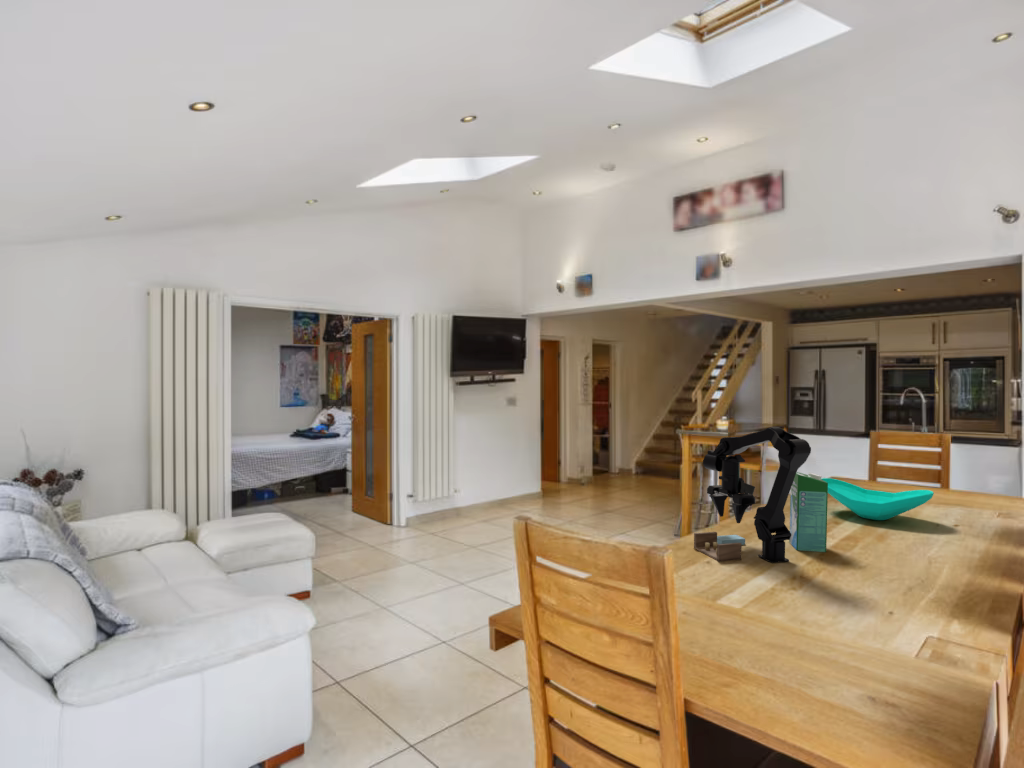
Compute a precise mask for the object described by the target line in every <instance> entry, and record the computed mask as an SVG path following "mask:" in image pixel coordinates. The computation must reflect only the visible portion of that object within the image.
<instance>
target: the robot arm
mask: <svg viewBox="0 0 1024 768" xmlns="http://www.w3.org/2000/svg"><path fill="white" fill-rule="evenodd" d="M766 443H771V445H772V447H773V448H774V449H775V450H777V451H778V453H777V454H778V455H777V456H778V461H779V466H778V470H777V473H776V476H775V479H774V481H773V482H774V483H773V485H772V488H771V490H770V493H769V496H768V498H767V499H768V500H767V502H766V504H765V505H764V506H758V507H757V508H756V512H755V515H754V517H753V519H754V521H753V522H754V523H753V524H754V527H755V530H756V531H755V532H756V535H757V539H758V540H760V541H761V542H762V543H761V554H758V555H757V556H758V558H760V559H763V560H765V561H768V562H770V563H771V564H773V563H774V564H776V563H785V562H790V559H789V558H786V541H789V540H790V537H791V533H790V529H789V528H788V527H787V526H786V524H785V523H786V516H785V511H784V509H785V507H786V503H787V500H788V498H789V494H790V491H791V486H792V484H793V481H794V478H795V475H796V472H798V470H799V468H801V467H802V466H803V465H804V464H805V463H806V462H807V460H808V458H809V456H810V455H811V453H812V447H811V446H810V443H809V442H808V441H807V440H805V439H804V438H800V437H799V436H797V435H795V434H794V433H793V434H792V433H790V432H789V431H786V430H785V429H783V428H781V427H780V426H773V427H767V428H766V429H761V430H759V431H755V432H752V433H748V434H745V435H741V436H727V437H724V436H723V437H722V438H720V439H719V442H718V445H717V446H716V447H715V449H714V450H711V449H709V450H707V454H705V456H704V457H703V459H702V466H703V467H704V468H705V469H706V470H708V471H709V470H710V471H714V472H719V473H721V475H719V476H718V479H719V480H721V484H715V485H714V484H712V485H709V486H707V488H706V494H708V495H709V497H710V500H711V501H712V502H713V505H714V506H715V509H716V512H717V513H718V516H720V517H721V518H722V517H724V514H725V503H726V500H727V499H728V498H731V499H732V501H733V502H732V503H731V505H732V509H733V513H734V517H735V522H736V524H741V523H742V520H743V518H744V514H745V512H746V510H747V509H748V508H749V507H750V506H752V505H755V504H756V496H754V492H755V490H756V486H754V485H752V484H749V483H747V482H745V480H744V479H743V477H740V475H741V474H740V473H741V472H740V469H741V467H740V466H741V463H745V462H746V459H745V458H743V457H742V455H741V453H743V452H745V451H746V450H748V449H749V448H751V447H754V446H758V445H761V444H766Z"/></svg>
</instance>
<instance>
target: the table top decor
mask: <svg viewBox="0 0 1024 768" xmlns="http://www.w3.org/2000/svg"><path fill="white" fill-rule="evenodd" d="M821 479H822V480H823V481H825V482H827V483H828V494H829V495H830V496H831V497H832V498H833V499H834V500H836V501H838V502H839V503H840V504H841V505H843V506H844V507H845V508H847V509H848V510H850V511H851V512H852V513H854V514H856V515H857V516H859V517H861V518H863V519H867V520H871V521H872V520H873V521H885V520H889V519H892V518H894V517H897V516H900V515H902V514H904V513H906V512H909V511H911V510H913V509H915V508H918V507H920V506H921V505H924V504H926V503H927V502H929V501H930V500H931V499H932V498H933V496H934V495H935V494H934V491H933V490H930V489H913V490H904V491H899V492H890V491H889V492H888V491H881V490H873V489H866V488H863V487H861V486H858V485H856V484H853V483H850V482H846V481H844V480H841V479H835V478H830V477H827V478H826V477H821Z"/></svg>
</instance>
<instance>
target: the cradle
mask: <svg viewBox="0 0 1024 768" xmlns="http://www.w3.org/2000/svg"><path fill="white" fill-rule="evenodd" d="M693 535H694V536H693V549H694V548H695V549H694V550H696V549H697V550H696V551H698V552H700V553H702V554H704V555H706V556H708V557H710V558H712V559H714V560H715V561H717V562H727V561H738V560H742V543H727V544H718V543H717V536H718V532H717V531H708V532H707V531H705V532H694V534H693Z"/></svg>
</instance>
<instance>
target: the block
mask: <svg viewBox="0 0 1024 768" xmlns="http://www.w3.org/2000/svg"><path fill="white" fill-rule="evenodd" d="M717 543H718V544H727V543H742V545H743V546H744V544H745V545H746V538H745V537H742V536H741V535H738V534H726V535H717Z"/></svg>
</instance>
